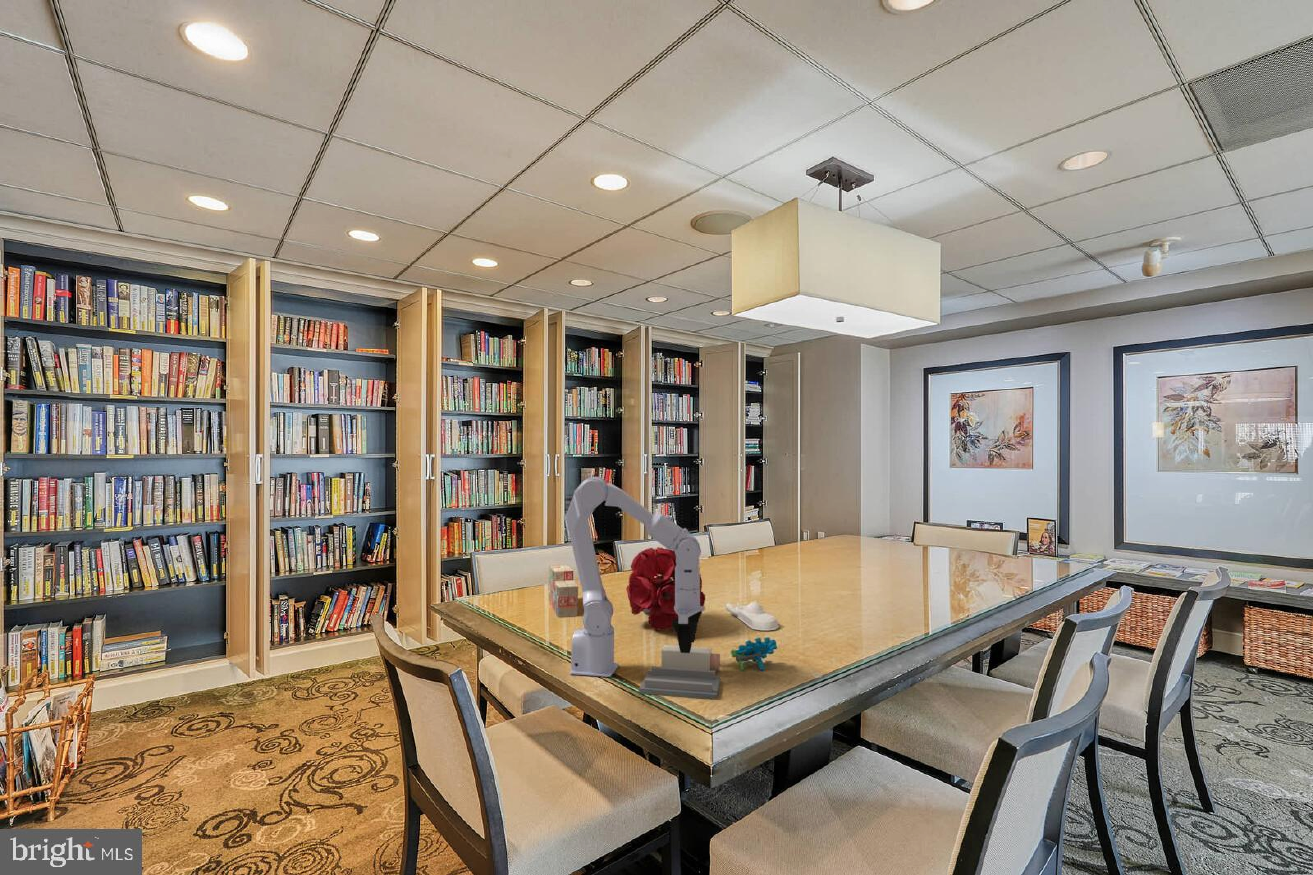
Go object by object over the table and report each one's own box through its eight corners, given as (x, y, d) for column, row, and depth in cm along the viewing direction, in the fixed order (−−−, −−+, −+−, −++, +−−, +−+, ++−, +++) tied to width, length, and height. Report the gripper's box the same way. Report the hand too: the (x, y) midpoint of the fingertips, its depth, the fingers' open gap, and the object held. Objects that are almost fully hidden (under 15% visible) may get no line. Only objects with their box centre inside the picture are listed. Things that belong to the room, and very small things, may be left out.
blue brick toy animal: (773, 651, 144) (778, 631, 137) (780, 675, 140) (786, 655, 133) (728, 659, 143) (731, 639, 136) (735, 683, 139) (738, 664, 132)
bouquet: (614, 643, 177) (640, 615, 153) (610, 566, 189) (634, 529, 165) (682, 641, 183) (718, 614, 159) (674, 567, 195) (707, 532, 171)
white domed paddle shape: (752, 634, 165) (752, 612, 165) (725, 615, 184) (725, 596, 184) (786, 631, 167) (786, 610, 168) (756, 612, 187) (756, 594, 187)
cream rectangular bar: (661, 672, 135) (661, 650, 135) (664, 666, 139) (664, 644, 139) (718, 676, 133) (718, 654, 133) (720, 670, 137) (720, 648, 137)
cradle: (639, 693, 123) (639, 681, 123) (648, 675, 133) (648, 664, 133) (716, 699, 120) (716, 687, 120) (720, 681, 130) (720, 669, 130)
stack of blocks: (578, 616, 182) (578, 576, 182) (557, 618, 180) (557, 577, 180) (567, 600, 202) (567, 563, 202) (548, 601, 200) (549, 564, 201)
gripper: (701, 595, 129) (701, 658, 128) (707, 581, 143) (708, 638, 143) (669, 594, 130) (669, 656, 130) (678, 580, 144) (679, 636, 144)
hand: (687, 647), depth 136 cm, fingers open, 7 cm apart
